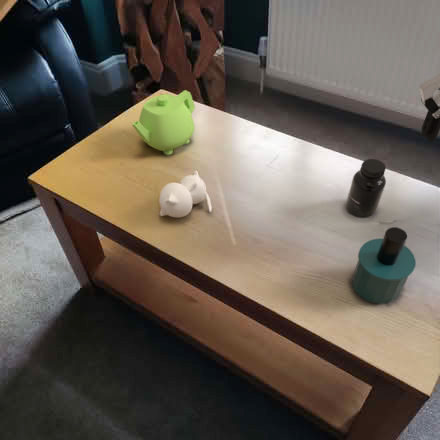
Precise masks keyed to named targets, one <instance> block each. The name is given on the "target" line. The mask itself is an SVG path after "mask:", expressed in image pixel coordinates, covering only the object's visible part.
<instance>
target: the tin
mask: <svg viewBox="0 0 440 440" xmlns="http://www.w3.org/2000/svg"><path fill="white" fill-rule="evenodd" d="M408 279H409V276H408V277H407V278H405V279H402V280H398V281H385V280H381V279H378V278H375V277H373V276H371V275H370V274H368V273H367V272H366V271H365V270H364V269H363V268H362V267H361V265H360V263H359V259H358V260H357V263H356V266H355V269H354V272H353V275H352V282H351V283H352V288H353V289H354V291H355V293H356V294H357V295H358V296H359V297H360V298H361V299H363V300H365V301H366V302H369V303H373V304H380V305H382V304H388V303H391V302H393V301H395V300H396V299H397V298H398V297H399V296H400V294H401V292H402V290H403V288H404V287H405V285H406V283H407V280H408Z"/></svg>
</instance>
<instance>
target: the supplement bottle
mask: <svg viewBox="0 0 440 440" xmlns="http://www.w3.org/2000/svg"><path fill="white" fill-rule="evenodd" d="M360 166H361V167H360V169H359V170H358V171H356V172H355V173H354V175H353V176H352V180H351V184H350V187H349V191H348V195H347V198H346V202H345V210H346V211H347V212H348V214H349V215H351V216H353V217H355V218H360V219H367V218H371V217H373V216H374V215H375V214H376V212H377V209H378V207H379V204H380V201H381V199H382V196H383V193H384V191H385V188H386V184H387V180H386V177H385V172H386V169H387V168H386V167H387V166H386V164H385V163H384V162H383V161H382V160H380V159H378V158H367V159H364V161H363V162H362V163H361V165H360Z"/></svg>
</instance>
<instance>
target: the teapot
mask: <svg viewBox="0 0 440 440" xmlns="http://www.w3.org/2000/svg"><path fill="white" fill-rule="evenodd" d="M195 109H196V105H195V102H194V100H193V96H192V94H191V92H190V91H189V90H187V89H184V90H182V91H181V92H180V93H179V94H177V95H172V94H169V93H163V94H159V95H156V96H154V97H152V98H149V99H148V100H147V101H146V102H145V103H144V104H143V106H142V108H141V111H140V115H139V118H138V119H139V120H135V121H134V122H133V123H131V125H132V127H133V129H134V130H135V131H136V133H137V134H138V135H139V137H140V138H141V140H142V141H143V142H145V144H147V145H148V146H150V147H151V148H153V149H155V150H157V151H163V154H164V155H171V154H173V152H174V150H175V149H177V148H179V147H181V146H183V145H186V144H189V143H190V139H191V137H192V135H193V134H194V132H195V122H194V119H193V116H192V114H193V112H194V110H195Z"/></svg>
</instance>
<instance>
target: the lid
mask: <svg viewBox="0 0 440 440" xmlns="http://www.w3.org/2000/svg"><path fill="white" fill-rule="evenodd" d="M383 235H384V236H383V237H381V238H374V239H370V240H367V241H366V242H365V243H363V244H362V246H361V247H360V248H359V251H358V254H357V259H358V260H359V263H360V265H361V267H362V268H363V269H364V270H365V271H366V272H367V273H368V274H370V275H371V276H373V277H375V278H378V279H381V280H385V281H398V280H402V279H405V278H407V277H408V278H409V277H410V276H411V275H412V273H413V272H414V271H415V268H416V263H417V262H416V257H415V255H414V253H413V252H412V251H411V249H409V247H407V246H406V245H405V244H406V242H407V239H408V233H407V232H406V231H405V230H404V229H402V228H400V227H396V226H393V227H388V228H387V229H386V231H385V233H384V234H383ZM408 278H407V279H408Z"/></svg>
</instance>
